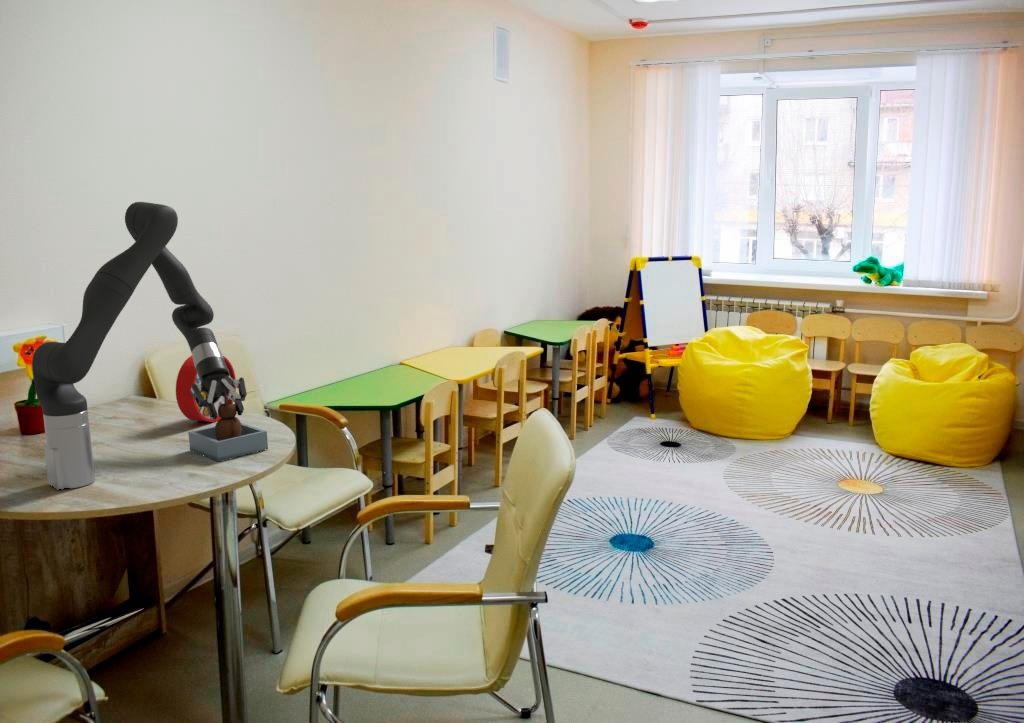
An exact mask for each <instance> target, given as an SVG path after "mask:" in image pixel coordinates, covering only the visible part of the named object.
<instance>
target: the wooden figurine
mask: <svg viewBox="0 0 1024 723" xmlns="http://www.w3.org/2000/svg"><path fill="white" fill-rule="evenodd" d="M218 415H219V417H220V418H221V419H219V420H218V421H216V424H215V435H216V439H217V441H221V440H225V439H230V438H234V437H239V436H241V432H242V430H241V423H242V422H241V420H240V419H239V418H238V417H237V415H238V413H237V409H236V406H235V403H233V404H232V403H229V401H228V397H227V393H226V391H225V403H224V404H221V405H220V406H219V408H218Z"/></svg>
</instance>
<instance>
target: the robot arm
mask: <svg viewBox="0 0 1024 723" xmlns="http://www.w3.org/2000/svg"><path fill="white" fill-rule="evenodd" d="M178 218H179V217H178V214H177V212H176V210H175V209H174V208H173V207H171V206H169V205H165V204H162V203H153V202H146V201H135V202H133V203H131V204H130V205H129V206H128V207H127V209H126V211H125V214H124V222H125V226H126V229H127V231H128V232H129V234H130V236H131V237H132V239H133V241H134V243H132V245H131V246H129V247H128V248H127V249H125V250H124V251H122V252H121V253H119V254H118V255H116V256H114V257H113V258H111V259H110V260H109V261H107V262H105V263H104V264H103V265H102V266H100V268H99V269H98V270H97V271H96V273H95V274H94V276H93V277H92V279H91V281H90V282H89V283H88V285H87V287H86V288H85V291H84V293H83V299H82V310H81V318H80V321H79V323H78V325H77V326H76V328H75V329H74V331H73V333H72V334H71V335H70V337H69V338H68V339H67V341H66V342H59V341H48V342H44V343H41V344H40V345H39V346H37V347H36V349H35V351H34V353H33V356H32V360H31V369H32V377H33V382H34V388H35V393H36V398H37V401H38V403H39V405H40V407H41V409H42V414H43V415H42V416H43V417H42V418H43V422H44V423H43V425H44V432H45V433H44V434H45V445H43V450H44V451H43V452H44V459H45V460H44V461H45V467H46V468H45V470H46V477H47V485H48V484H49V486H50V485H51V486H50V487H52V486H53V487H54V489H55V488H56V489H55V490H57V491H59V489H61V490H65V489H64V488H70V489H76V488H81V487H85V486H88V485H90V484H92V483H94V482H95V481H96V475H95V473H96V471H95V465H94V464H95V463H94V456H93V447H92V439H91V437H92V436H91V429H90V419H89V418H90V417H89V410H88V401H87V399H86V397H85V396H84V395H83V394H81V393H80V391H79V390H77V388H76V386H74V384H77V383H79V382H81V381H82V380H83V379H84V378H85V377H86V376H87V374H88V373H89V371H90V370H91V367H92V366H93V364H94V362H95V359H96V357H97V356H98V353H99V351H100V349H101V347H102V345H103V343H104V341H105V339H106V337H107V335H108V333H110V331H111V329H112V327H113V326H114V324H115V322H116V320H117V319H118V317H119V316H120V314H121V312H122V311H123V310H124V307H126V305H127V303H129V300H130V299H131V296H132V295H133V294H134V292H135V291H136V289H137V286H138V285H139V284H140V282H141V281H142V279H143V278H144V276H145V275H146V273H147V272H148V269H149V268H150V267H151V266H152V267H153V268H154V270H155V271H156V273H157V275H158V277H159V279H160V280H161V282H162V284H163V287H164V289H165V291H166V293H167V295H168V297H169V299H170V301H171V302H172V303H173V304H175V305H177V307H175V308H174V309H173V310H172V314H171V317H172V318H171V319H172V321H173V324H174V325H175V326H176V328H177V329H178V330H179V331H180V333H181V334H182V335H183V337H184V338H185V340H186V342H187V344H188V347H189V349H190V353H191V355H192V356H193V362H194V366H195V368H196V370H197V373H198V376H199V379H200V382H201V384H199V385H196V384H192V387H191V390H190V391H191V393H192V395H193V397H194V399H195V401H196V403H197V404H198V406H199V407H206V408H207V409H208V412H209V415H210V417H211V418H213V419H217V416H218V415H217V411H216V409H215V406H214V403H212V401H213V397H219V396H225V391H226V393H227V397H228V398H229V399H231V400H232V401H233V404H235V406H236V409H237V415H238V416H242V415H243V413H244V411H245V408H244V405H243V402H245V401H246V398H247V395H248V394H247V388H246V382H245V379H244V377H239V379H236V380H233V379H232V378H231V377H230V375H229V372H228V369H227V366H226V363H225V361H224V358H223V356H224V355H223V353H222V351H221V349H220V346H219V345H218V342H217V339H216V337H215V334H214V332H213V331H212V329H211V328H208V327H203V326H207V325H210V324H211V323H212V321H214V315H215V313H214V310H213V308H212V307H211V305H210V304H209V303H208V301H207V300H206V299H205V298H204V297H203V296H202V294H200V292H198V289H197V288H196V286H195V284H194V282H193V280H192V277H191V275H190V274H189V271H188V270H187V268H186V267H185V265H184V264H183V263H182V261H180V260H179V259H178V258H177V257H176V256H175V255H174V254H173V253H172V252H171V251H170V250H169V249H168V248H167V247H166V246H167V245H168V244H169V242H170V241H171V240H172V239H173V237H174V235H175V232H176V231H177V228H178V222H179V220H178ZM178 305H179V306H178ZM233 384H234V385H235V386H236V390H235V389H234V388H233V387H232V385H233ZM201 389H202V390H204V391H205V392H206V393H208V398H207V400H204V398H203V396H202V394H201V392H200V391H201ZM237 389H238V392H237ZM229 391H230V392H229ZM53 487H52V488H53Z"/></svg>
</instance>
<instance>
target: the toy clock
mask: <svg viewBox="0 0 1024 723" xmlns="http://www.w3.org/2000/svg"><path fill="white" fill-rule="evenodd" d="M223 358H224V361H225V363H226V366H227V369H228V372H229V375H230V377H231V378H232V379H233V380H237V378H236V373H235V369H234V368H233V365H232V363H231V361H230V360H229V359H228V358H227V357H226V356H225V355H223ZM192 384H196V385H199V384H201V382H200V379H199V376H198V373H197V370H196V368H195V366H194V362H193V356H192V354H191V355H190V356H189V357H187V358H186V359H185V360H184V362H183V363H182V364H181V366H180V368H179V371H178V373H177V376H176V381H175V397H176V398H175V399H176V402H177V405H178V408H179V410H180V412H181V414H182V415H183V416H184V417H185V418H187V419H189V420H190V421H196V422H208V423H209V422H211V423H215V421H216V422H218V420H219V419H221V418H220V417H219V415H218V408H219V406H220V405H221V404H224V403H225V396H219V397H213V401H212V403H214V406H215V409H216V411H217V415H218V416H217V419H213V418H211V417H210V415H209V412H208V409H207V408H206V407H199V406H198V404H197V403H196V401H195V399H194V397H193V395H192V393H191V391H190V390H191V387H192ZM232 387H233V388H234V389H235V390H236V391H237V388H236V386H235V385H234V384H233V385H232ZM200 392H201V394H202V396H203V398H204V400H207V398H208V393H206V392H205V391H204V390H202V389H201V391H200ZM229 392H230V391H229ZM228 401H229V403H232V404H234V402H233V401H232V400H231V399H229V398H228Z"/></svg>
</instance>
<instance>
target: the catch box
mask: <svg viewBox="0 0 1024 723" xmlns="http://www.w3.org/2000/svg"><path fill="white" fill-rule="evenodd" d="M240 423H241V430H242V432H241V436H239V437H234V438H230V439H225V440H221V441H217V439H216V435H215V426H216V425H215V426H210V427H206V428H201V429H197V430H192V431H188V433H187V434H188V441H189V442H188V443H189V451H190V450H191V452H193V451H194V452H193V453H195V452H196V453H195V454H198V455H200V454H201V456H203V455H204V456H203V457H205V456H206V458H208V457H209V458H208V459H210V458H211V460H213V461H215V460H216V462H219V461H220V462H223V461H222V460H224V461H227V460H226V459H228V460H231V459H230V458H232V459H235V458H234V457H236V458H238V457H237V456H240V457H242V456H241V455H244V456H246V455H245V454H248V455H251V454H250V453H252V454H255V453H254V452H257V451H261V452H263V451H262V450H265V449H268V450H269V446H268V445H269V444H268V442H269V441H268V431H267V430H264V429H262V428H258V427H255V426H252V425H249V424H246V423H242V422H240ZM265 451H266V450H265ZM257 453H258V452H257Z"/></svg>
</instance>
